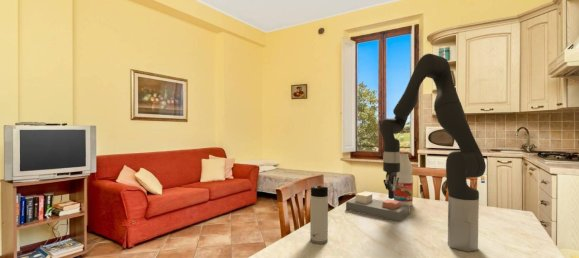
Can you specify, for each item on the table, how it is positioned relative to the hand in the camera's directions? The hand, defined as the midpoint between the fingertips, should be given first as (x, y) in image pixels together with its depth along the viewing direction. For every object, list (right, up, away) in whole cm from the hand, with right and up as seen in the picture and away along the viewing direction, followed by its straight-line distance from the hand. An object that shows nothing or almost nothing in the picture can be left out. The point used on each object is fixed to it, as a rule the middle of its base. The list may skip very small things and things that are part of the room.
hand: (391, 198), depth 140 cm
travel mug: (-37, -9, -31) cm, 49 cm away
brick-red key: (0, -6, 0) cm, 6 cm away
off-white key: (-10, -4, +9) cm, 15 cm away
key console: (-5, -8, +5) cm, 11 cm away
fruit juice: (+13, -8, +20) cm, 25 cm away
